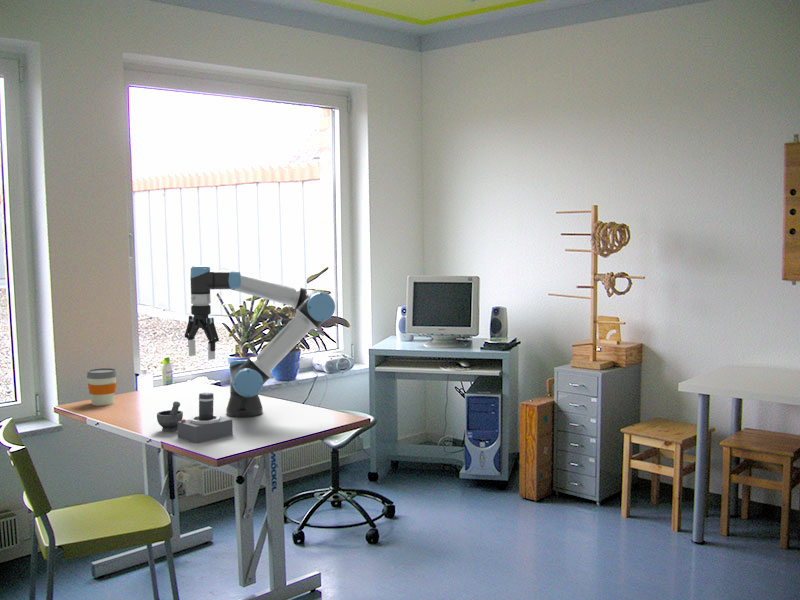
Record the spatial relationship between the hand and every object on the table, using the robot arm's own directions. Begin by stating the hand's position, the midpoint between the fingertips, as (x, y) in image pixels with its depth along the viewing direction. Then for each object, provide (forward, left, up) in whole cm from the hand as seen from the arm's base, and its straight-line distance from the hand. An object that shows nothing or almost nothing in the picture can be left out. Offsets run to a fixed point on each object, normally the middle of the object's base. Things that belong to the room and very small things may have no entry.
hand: (201, 357), depth 306 cm
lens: (+11, +18, -21) cm, 29 cm away
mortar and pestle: (+15, +1, -27) cm, 31 cm away
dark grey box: (+11, +18, -27) cm, 34 cm away
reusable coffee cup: (+9, -65, -27) cm, 71 cm away
